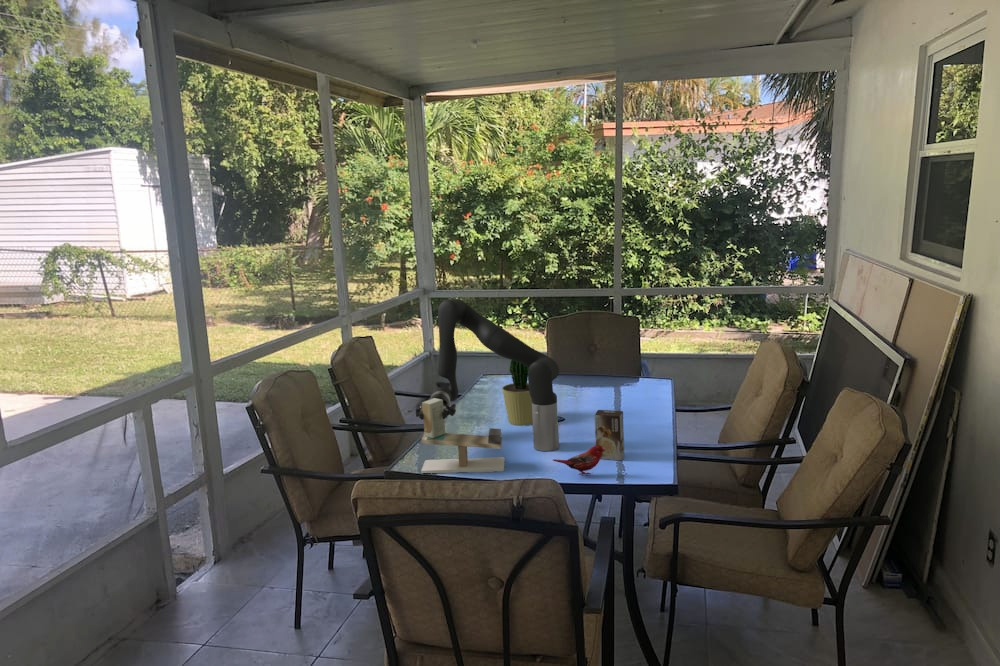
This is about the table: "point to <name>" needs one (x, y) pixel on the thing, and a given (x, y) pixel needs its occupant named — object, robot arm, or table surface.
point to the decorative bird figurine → (584, 459)
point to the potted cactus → (518, 396)
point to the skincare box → (433, 417)
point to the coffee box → (610, 433)
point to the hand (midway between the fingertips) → (432, 416)
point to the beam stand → (463, 464)
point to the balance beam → (467, 440)
